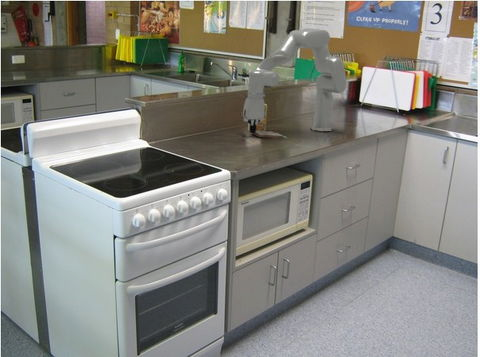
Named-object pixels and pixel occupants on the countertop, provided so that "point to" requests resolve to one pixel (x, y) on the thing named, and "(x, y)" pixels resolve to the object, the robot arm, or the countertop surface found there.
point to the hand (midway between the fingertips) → (252, 132)
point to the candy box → (262, 124)
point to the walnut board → (267, 134)
